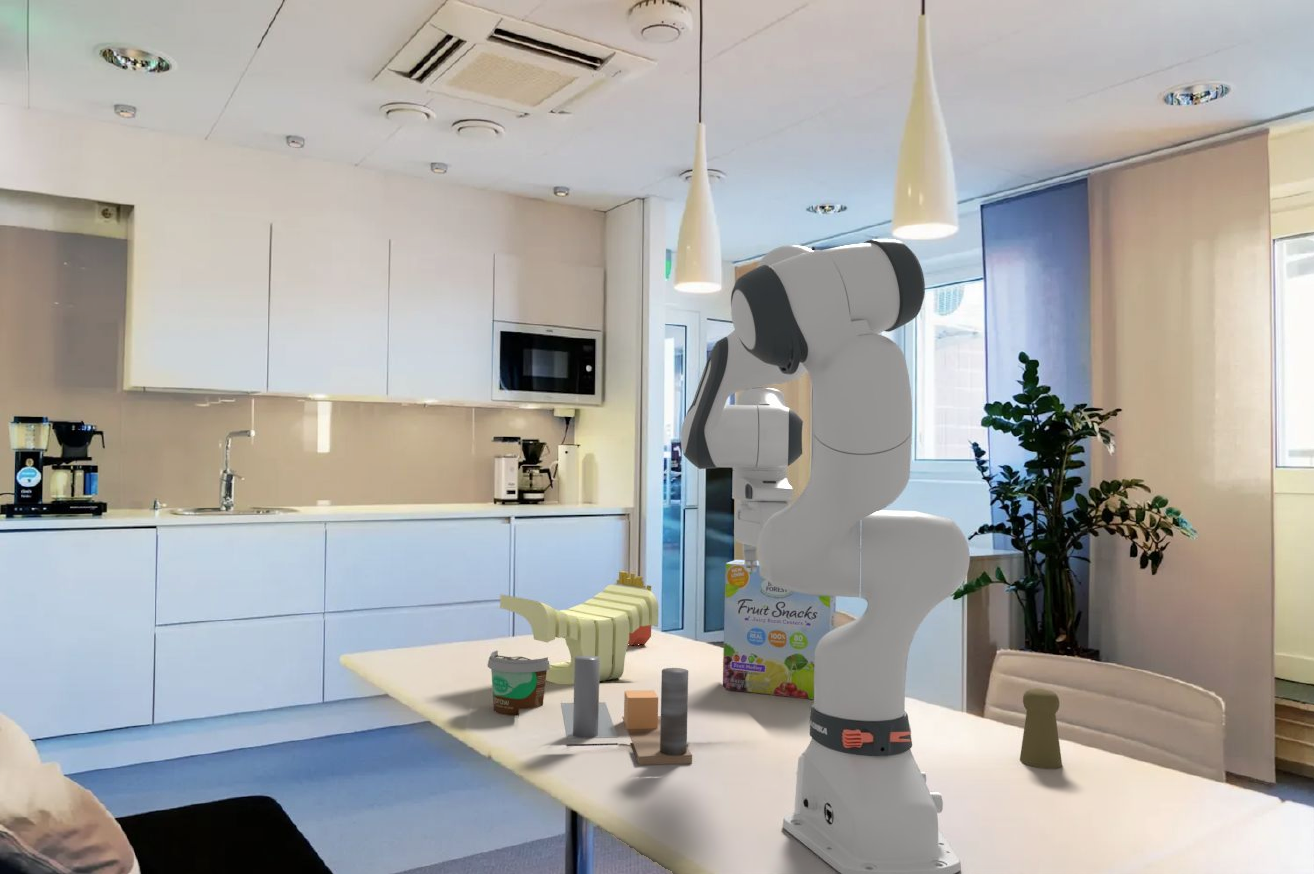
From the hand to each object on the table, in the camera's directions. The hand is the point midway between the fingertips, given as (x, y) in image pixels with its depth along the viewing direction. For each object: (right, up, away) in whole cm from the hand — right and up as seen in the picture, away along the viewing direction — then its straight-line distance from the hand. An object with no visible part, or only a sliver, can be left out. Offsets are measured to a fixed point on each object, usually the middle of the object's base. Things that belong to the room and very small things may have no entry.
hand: (758, 574), depth 145 cm
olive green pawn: (+43, -28, -7) cm, 52 cm away
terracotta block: (-19, -26, +4) cm, 32 cm away
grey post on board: (-17, -27, -2) cm, 31 cm away
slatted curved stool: (-33, -29, +44) cm, 61 cm away
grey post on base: (-28, -27, +7) cm, 39 cm away
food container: (-42, -27, +15) cm, 52 cm away
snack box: (+8, -29, +35) cm, 47 cm away
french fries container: (-23, -31, +84) cm, 93 cm away
